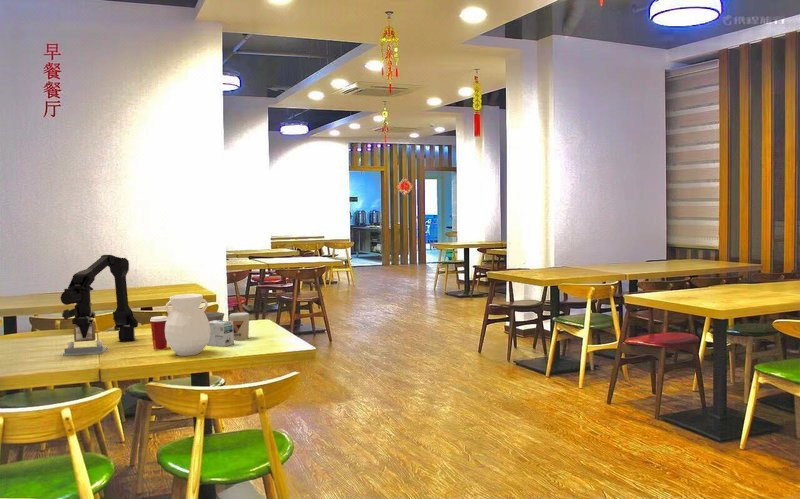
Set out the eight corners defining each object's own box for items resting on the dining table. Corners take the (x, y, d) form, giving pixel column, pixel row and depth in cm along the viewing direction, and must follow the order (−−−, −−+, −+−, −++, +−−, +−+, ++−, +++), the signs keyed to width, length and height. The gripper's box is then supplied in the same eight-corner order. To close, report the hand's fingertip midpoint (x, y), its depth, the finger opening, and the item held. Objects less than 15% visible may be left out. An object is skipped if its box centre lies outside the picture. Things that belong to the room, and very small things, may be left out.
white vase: (167, 360, 278) (165, 299, 276) (163, 351, 295) (161, 294, 293) (214, 355, 285) (212, 296, 284) (208, 347, 302) (206, 291, 301)
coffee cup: (225, 340, 320) (224, 314, 319) (237, 336, 328) (236, 312, 328) (242, 341, 316) (241, 315, 316) (254, 337, 325) (253, 312, 324)
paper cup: (172, 347, 305) (171, 316, 305) (161, 350, 298) (160, 318, 297) (158, 346, 308) (157, 315, 307) (146, 349, 301) (145, 318, 300)
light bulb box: (234, 344, 309) (233, 320, 309) (224, 347, 303) (224, 323, 303) (215, 342, 314) (215, 319, 313) (206, 345, 308) (205, 321, 307)
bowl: (234, 332, 342) (233, 312, 341) (202, 339, 324) (201, 318, 324) (205, 329, 353) (204, 310, 352) (173, 335, 335) (172, 315, 335)
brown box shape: (95, 339, 299) (94, 323, 299) (94, 340, 296) (93, 324, 296) (75, 340, 297) (75, 324, 297) (74, 342, 294) (73, 325, 294)
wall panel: (107, 348, 305) (107, 337, 305) (103, 353, 294) (102, 342, 294) (68, 351, 301) (68, 340, 301) (63, 355, 290) (62, 344, 290)
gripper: (67, 300, 303) (69, 334, 304) (58, 305, 285) (59, 342, 286) (94, 298, 306) (96, 333, 307) (86, 304, 288) (88, 340, 289)
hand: (85, 337), depth 297 cm, fingers closed on brown box shape, 3 cm apart
